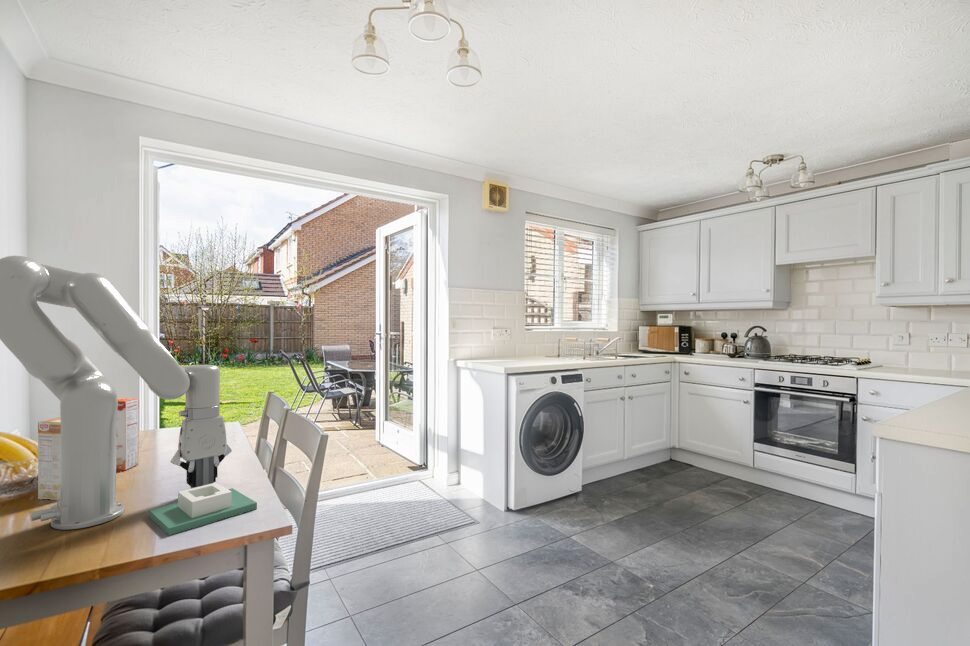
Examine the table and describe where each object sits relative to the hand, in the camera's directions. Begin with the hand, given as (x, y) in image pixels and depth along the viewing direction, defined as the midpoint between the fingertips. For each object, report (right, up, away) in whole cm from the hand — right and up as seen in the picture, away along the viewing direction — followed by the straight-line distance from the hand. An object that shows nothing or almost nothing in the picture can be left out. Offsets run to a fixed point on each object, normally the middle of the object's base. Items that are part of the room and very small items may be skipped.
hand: (202, 482), depth 119 cm
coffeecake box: (-34, -3, +2) cm, 34 cm away
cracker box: (-39, -2, +18) cm, 44 cm away
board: (+7, -3, -11) cm, 14 cm away
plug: (0, -3, 0) cm, 3 cm away
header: (+8, -1, -12) cm, 14 cm away
